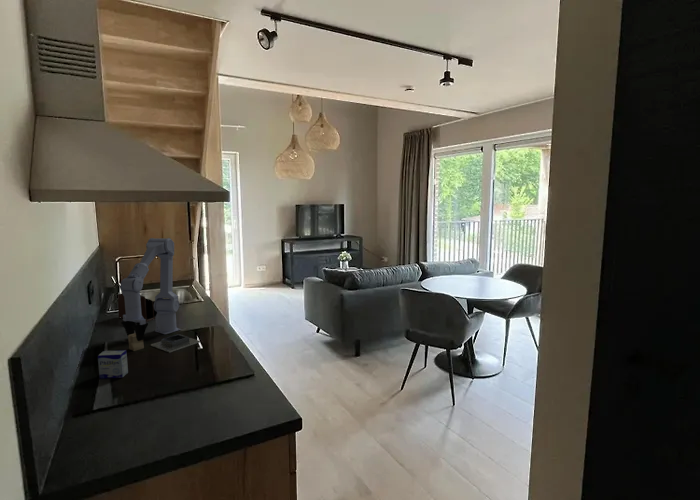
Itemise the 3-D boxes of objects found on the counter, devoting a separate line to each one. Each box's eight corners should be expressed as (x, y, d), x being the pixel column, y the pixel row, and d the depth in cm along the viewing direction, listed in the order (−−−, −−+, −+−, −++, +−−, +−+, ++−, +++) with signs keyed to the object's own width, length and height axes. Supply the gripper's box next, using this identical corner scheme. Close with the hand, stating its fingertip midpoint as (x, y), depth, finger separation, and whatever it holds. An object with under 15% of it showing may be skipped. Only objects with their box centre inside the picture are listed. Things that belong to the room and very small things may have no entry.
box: (98, 379, 136) (96, 355, 135) (105, 373, 141) (103, 350, 140) (122, 378, 137) (120, 354, 136) (128, 372, 142) (126, 349, 141)
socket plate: (150, 345, 168) (150, 339, 168) (181, 336, 179) (180, 330, 179) (169, 352, 160) (169, 346, 160) (200, 342, 171) (199, 336, 171)
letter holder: (145, 322, 201) (143, 295, 200) (118, 318, 209) (116, 292, 207) (161, 317, 211) (160, 291, 209) (135, 313, 218) (132, 288, 216)
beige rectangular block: (129, 349, 165) (128, 335, 164) (138, 346, 168) (137, 332, 167) (134, 351, 162) (132, 336, 162) (143, 348, 166) (142, 334, 165)
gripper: (114, 306, 164) (116, 338, 165) (132, 311, 155) (134, 344, 157) (131, 302, 169) (134, 333, 171) (149, 307, 161) (152, 339, 163)
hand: (135, 338), depth 164 cm, fingers open, 7 cm apart
